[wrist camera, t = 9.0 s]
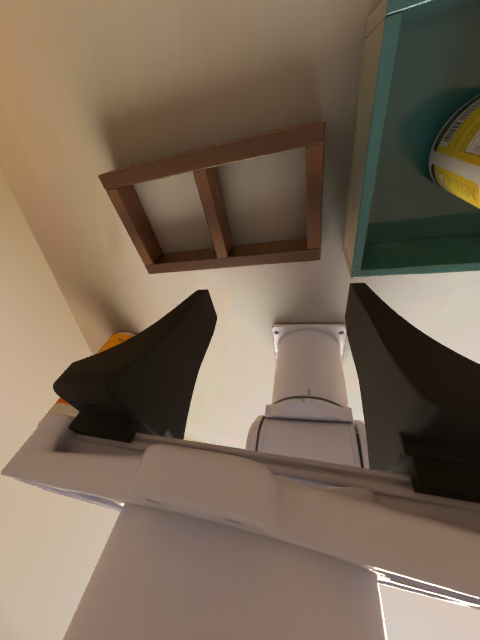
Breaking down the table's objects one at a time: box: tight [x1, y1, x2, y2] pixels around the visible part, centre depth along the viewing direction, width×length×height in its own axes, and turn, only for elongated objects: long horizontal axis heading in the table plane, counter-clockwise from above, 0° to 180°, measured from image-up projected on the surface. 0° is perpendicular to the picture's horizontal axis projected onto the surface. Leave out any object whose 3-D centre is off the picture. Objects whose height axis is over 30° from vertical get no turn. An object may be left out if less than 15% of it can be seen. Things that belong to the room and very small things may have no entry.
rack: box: [98, 119, 325, 274], centre depth 18 cm, size 8×16×2 cm, turn 101°
